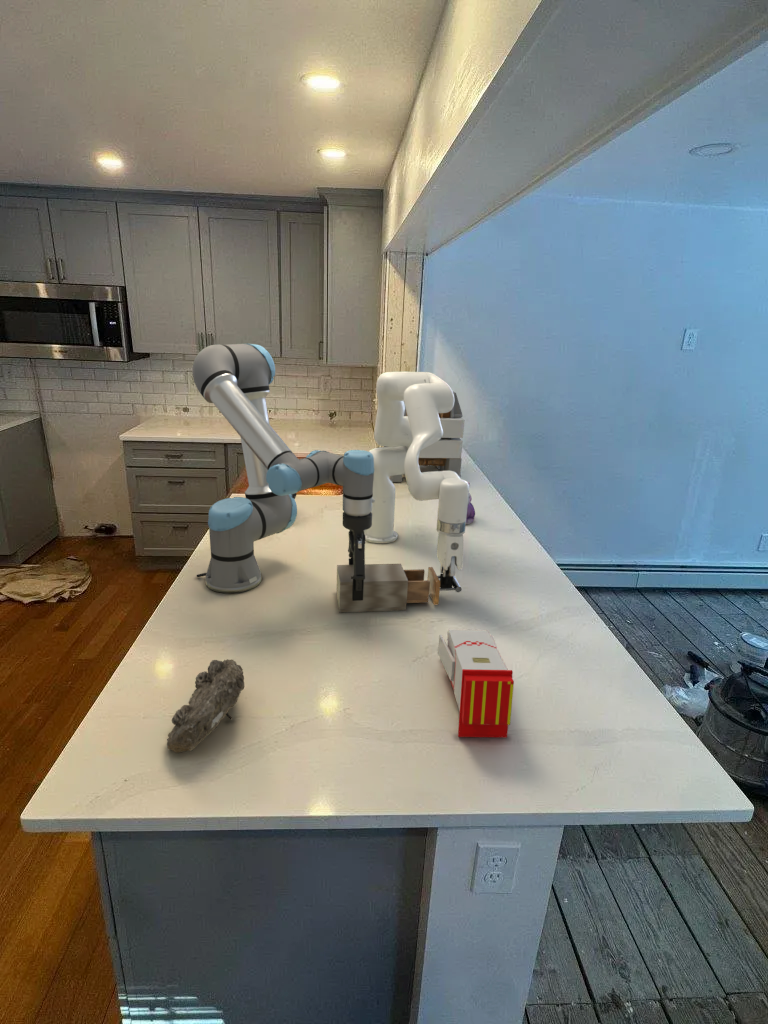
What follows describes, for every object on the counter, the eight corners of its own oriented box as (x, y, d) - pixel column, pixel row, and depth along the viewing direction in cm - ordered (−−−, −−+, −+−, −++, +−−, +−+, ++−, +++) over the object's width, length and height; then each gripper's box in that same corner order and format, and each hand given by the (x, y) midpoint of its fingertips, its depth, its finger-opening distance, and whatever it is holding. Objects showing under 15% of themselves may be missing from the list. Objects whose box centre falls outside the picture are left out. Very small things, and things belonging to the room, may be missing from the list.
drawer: (452, 588, 161) (454, 566, 158) (460, 604, 152) (463, 581, 150) (373, 590, 157) (374, 568, 155) (377, 606, 149) (378, 583, 146)
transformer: (382, 463, 289) (386, 382, 275) (445, 464, 293) (451, 384, 279) (390, 482, 257) (394, 392, 243) (460, 483, 261) (468, 394, 247)
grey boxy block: (399, 591, 159) (401, 563, 156) (406, 610, 150) (408, 580, 147) (336, 593, 156) (337, 564, 153) (339, 612, 147) (340, 582, 144)
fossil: (192, 660, 117) (244, 628, 112) (224, 691, 120) (276, 661, 115) (142, 746, 98) (202, 712, 93) (182, 779, 101) (242, 748, 96)
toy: (488, 613, 130) (523, 677, 101) (484, 667, 133) (517, 744, 104) (435, 612, 130) (455, 676, 101) (432, 666, 133) (451, 743, 103)
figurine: (460, 527, 208) (464, 488, 203) (445, 518, 217) (448, 480, 212) (481, 523, 212) (485, 485, 207) (465, 515, 221) (469, 478, 216)
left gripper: (378, 528, 134) (375, 610, 141) (366, 497, 155) (364, 570, 162) (346, 528, 132) (345, 612, 140) (339, 497, 154) (338, 571, 161)
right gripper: (473, 536, 142) (466, 600, 149) (457, 515, 156) (451, 575, 162) (444, 536, 141) (438, 601, 147) (430, 515, 155) (426, 576, 161)
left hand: (355, 589), depth 151 cm, fingers closed on grey boxy block, 10 cm apart
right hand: (445, 587), depth 155 cm, fingers closed
